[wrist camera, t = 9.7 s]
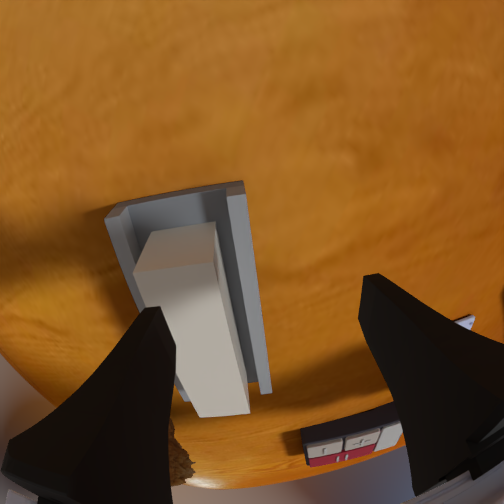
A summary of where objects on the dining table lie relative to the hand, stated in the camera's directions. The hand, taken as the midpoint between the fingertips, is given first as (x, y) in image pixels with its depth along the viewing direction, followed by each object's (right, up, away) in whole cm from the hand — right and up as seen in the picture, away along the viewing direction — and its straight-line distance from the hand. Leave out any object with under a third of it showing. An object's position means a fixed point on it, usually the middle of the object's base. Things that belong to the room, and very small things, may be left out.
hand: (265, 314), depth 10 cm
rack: (-4, -2, +12) cm, 12 cm away
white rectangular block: (-4, -2, +11) cm, 12 cm away
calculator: (+14, -24, +27) cm, 38 cm away
